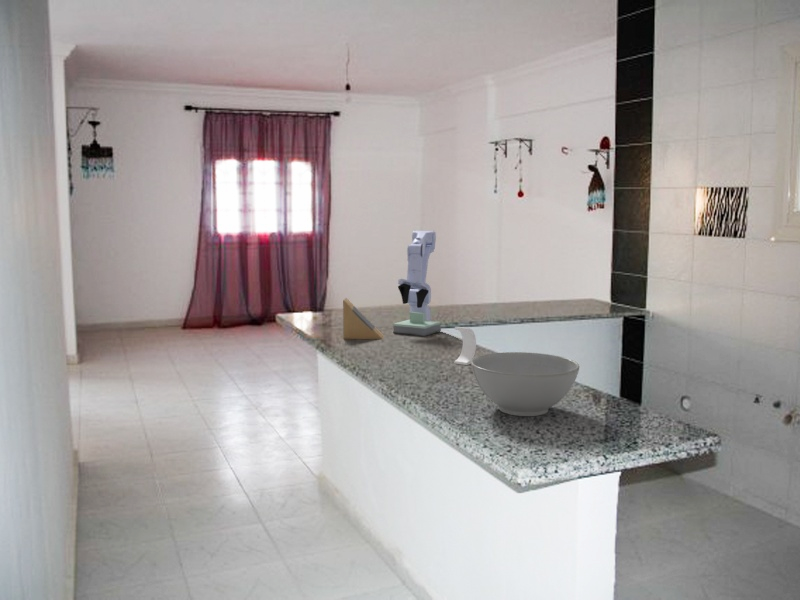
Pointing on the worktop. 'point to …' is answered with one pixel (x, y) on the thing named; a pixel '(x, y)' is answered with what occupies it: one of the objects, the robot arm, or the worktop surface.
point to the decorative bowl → (524, 380)
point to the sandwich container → (357, 324)
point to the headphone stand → (466, 346)
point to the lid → (417, 321)
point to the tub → (417, 330)
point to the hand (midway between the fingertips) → (412, 305)
